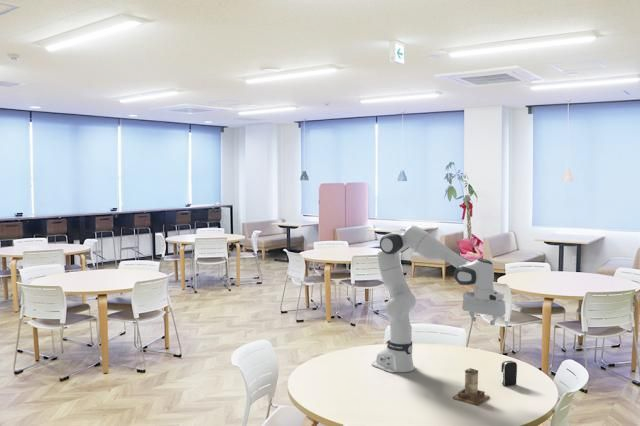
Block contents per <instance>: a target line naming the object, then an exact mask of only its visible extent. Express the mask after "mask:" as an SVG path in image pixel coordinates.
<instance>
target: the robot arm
mask: <svg viewBox="0 0 640 426" xmlns="http://www.w3.org/2000/svg"><path fill="white" fill-rule="evenodd" d="M379 248H380V249H379V250H378V251H377V254H376V255H377V263H378V267H379V271H380V276H381V278H382V282H383V285H384V287H385V288H386V289H387V290H388V292H389V294H390V296H391V298H389V299H388V300H387V302H386V304H385V312H386V314H387V317H388V321H389V330H390V331H389V339H388V340H387V341H386V342H385V345H387V346H386V347H384V348H383V349H381V350H380V351H379V352H378V353H377V354H376V359H375V360H373V361H372V362H371V366H373V367H376V368H378V369H380V370H384V371H386V372H388V373H391V374H392V373H393V374H394V373H407V372H408V373H409V372H412V371H414V370H415V365H414V361H413V340H412V335H413V334H412V332H413V330H412V329H413V327H412V325H411V322H410V312H412V311H413V310H414V308H415V307H416V303H417V297H416V296H415V294H414V293H413V292H412V291H411V289H410V287H409V285H408V283H407V280H406V278H405V276H404V272H403V268H402V265H401V262H400V259H399V255H400V253H403V252H405V251H407V250H408V249H409V248H410V249H412V250H413V251H414V252H416V253H417V254H419V255H420V256H422V257H424V258H426V259H429V260H441V261H444V262H447V263H448V264H450V265H451V266H453V267H454V268H455V270H454V271H453V278H454V280H455V282H456V283H457V284H458V285H461V286H469V285H472V286H473V291H465V292H463V294H462V298H463V299H462V304H461V305H462V308H461V309H462V311H464V312H468V313H469V316H470V318H471V322H476V321H477V320H476V319H477V317H475V315H474V313H476V314H481V315H487V316H492V320H490V324H489V325H491V326H495V324H496V320H497V319H498V317H499V318H502V317H505V315H506V303H505V301H504V300H503V299H505V296H504V294H502V293H501V292H499V291H497V290H495V288H494V287H495V286H494V280H495V271H494V263H493V262H492V261H490V260H489V259H487V258H476V259H475V260H474V261H473V260H470V259H467V258H466V257H464V256H463V255H461V254H459V253H458V252H456V251H455V250H453V249H451V248H450V247H448V246H447V245H445V244H444V243H442V242H441V241H440V240H438V239H437V238H435V236H433V235H432V234H430V233H429V232H427V231H426V230H424V229H423V228H420V227H419V226H417V225H409V226H408V227H407V228H406V229H399V230H393V231H391V232H389V233H386V234H384V235H382V237H381V239H380V240H379Z"/></svg>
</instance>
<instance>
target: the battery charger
mask: <svg viewBox="0 0 640 426" xmlns="http://www.w3.org/2000/svg"><path fill="white" fill-rule="evenodd" d="M500 369H501V371H500V372H501V373H502V377H503V379H502V382H501V384H502V385H503V386H504V387H511V386H516V385H517V379H518V374H517V373H518V364H517V362H516V361H513V360H504V361H502V363H501V368H500Z"/></svg>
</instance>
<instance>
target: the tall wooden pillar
mask: <svg viewBox="0 0 640 426" xmlns="http://www.w3.org/2000/svg"><path fill="white" fill-rule="evenodd" d="M464 374H465V375H464V376H465V377H464V389H465V394H468V395H472V396H476V395H478V390H479V387H478V386H479V384H478V383H479V381H478V380H479V379H478V378H479V370H478V369H474V368H471V367H470V368H467V369H465V371H464Z"/></svg>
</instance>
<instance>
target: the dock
mask: <svg viewBox="0 0 640 426" xmlns="http://www.w3.org/2000/svg"><path fill="white" fill-rule="evenodd" d="M490 396H491V395H488V394H485V391H484V390H479V389H478V395H476V396H472V395H468V394H465V388H462V389H461V390H460V391H458V392H457V393H456V394H455V395H453V396H452V400H457V401H460V402H463V403H467V404H471V405H475V406H477V407H478V406H480V405H481V404H483V403H484V402H485V401H486V400H488V399H490Z"/></svg>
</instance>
